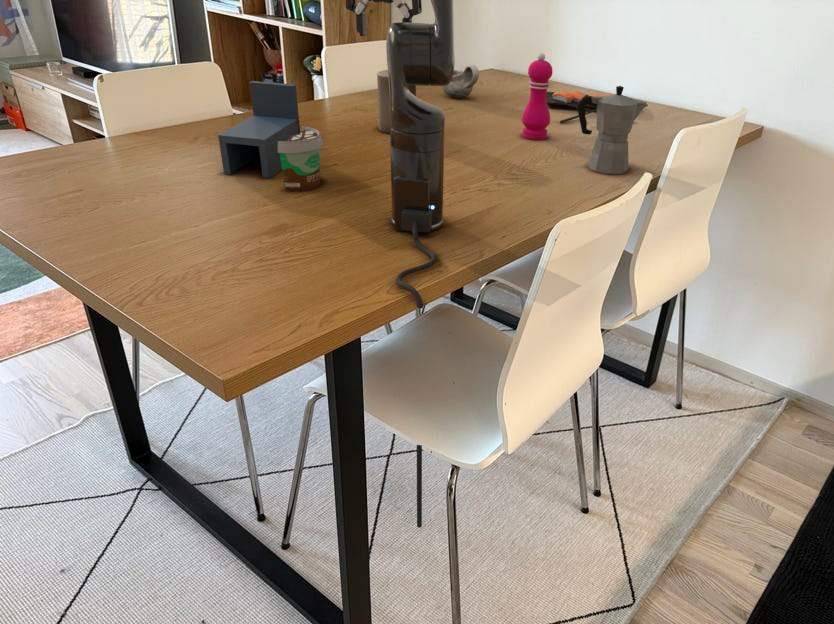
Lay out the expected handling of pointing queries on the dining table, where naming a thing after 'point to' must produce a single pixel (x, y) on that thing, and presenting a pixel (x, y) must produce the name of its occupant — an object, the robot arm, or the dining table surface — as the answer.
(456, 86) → the grey curved hollow piece
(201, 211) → the dining table surface
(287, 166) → the food container
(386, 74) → the pillar candle
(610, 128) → the coffeepot
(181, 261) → the dining table surface
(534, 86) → the pepper mill
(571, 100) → the sushi plate
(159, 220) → the dining table surface
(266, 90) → the blue toy chair
